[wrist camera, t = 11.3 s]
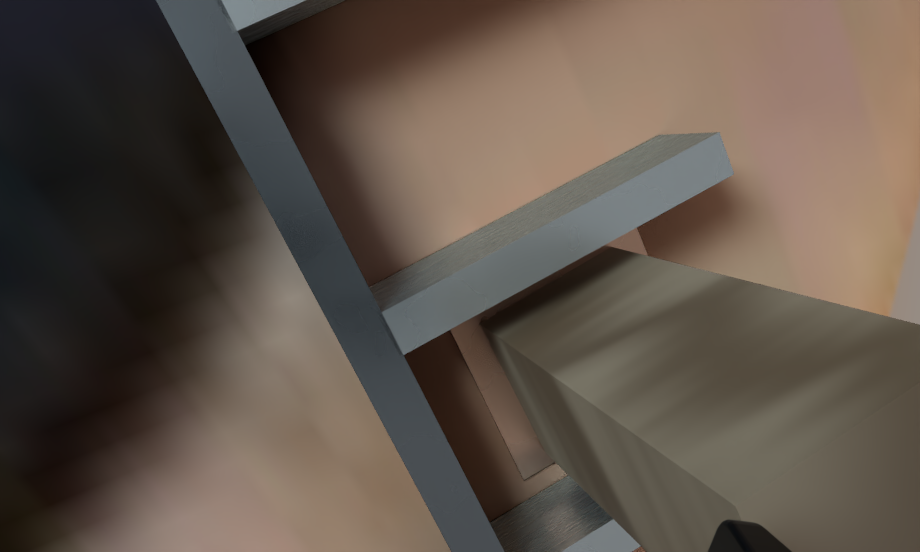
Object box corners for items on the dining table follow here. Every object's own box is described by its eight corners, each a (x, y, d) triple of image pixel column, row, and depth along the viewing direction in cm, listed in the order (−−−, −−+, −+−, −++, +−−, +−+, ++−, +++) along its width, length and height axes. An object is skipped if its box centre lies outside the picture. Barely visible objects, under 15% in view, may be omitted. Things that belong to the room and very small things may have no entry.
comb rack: (465, 577, 23) (497, 637, 20) (168, 22, 19) (155, -2, 16) (758, 397, 25) (824, 428, 22) (553, -146, 21) (603, -194, 18)
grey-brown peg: (544, 451, 23) (836, 738, 12) (479, 323, 22) (735, 506, 11) (668, 374, 24) (1053, 574, 13) (611, 246, 23) (981, 340, 11)
